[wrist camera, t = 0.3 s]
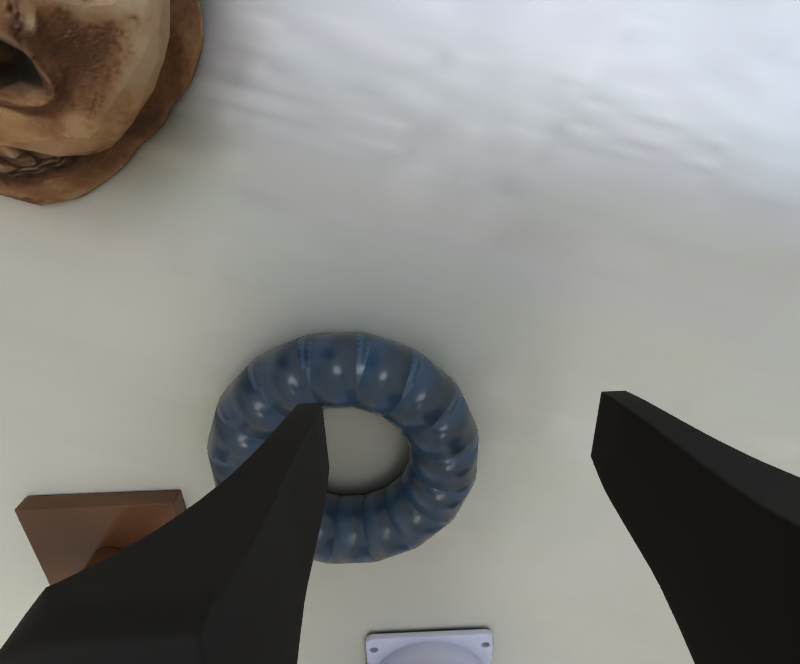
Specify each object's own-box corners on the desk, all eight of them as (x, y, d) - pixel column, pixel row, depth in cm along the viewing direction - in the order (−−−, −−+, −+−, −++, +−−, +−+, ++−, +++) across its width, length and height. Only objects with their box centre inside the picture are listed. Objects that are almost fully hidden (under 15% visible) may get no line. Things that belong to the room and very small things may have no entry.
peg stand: (209, 593, 28) (168, 707, 23) (73, 599, 28) (-1, 715, 23) (180, 489, 25) (123, 593, 20) (26, 495, 25) (-74, 601, 20)
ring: (467, 522, 27) (477, 572, 24) (244, 531, 27) (226, 583, 24) (476, 316, 22) (490, 348, 19) (198, 326, 21) (169, 360, 18)
